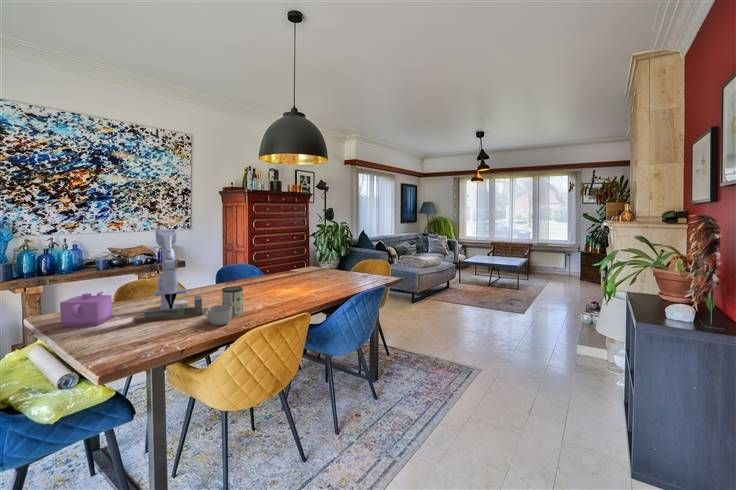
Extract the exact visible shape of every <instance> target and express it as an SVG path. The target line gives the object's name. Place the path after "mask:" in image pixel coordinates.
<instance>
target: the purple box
mask: <svg viewBox="0 0 736 490" xmlns="http://www.w3.org/2000/svg"><path fill="white" fill-rule="evenodd" d="M103 294H104V291H99V292H97V294H96V295H92V293H89V292H87V293H82V294H81V295H76V296H73V297H71V298H68V299H64V300H63V301H60V302H59V306H60V307H59V309H60V310H59V311H60V326H61V328H71V327H75V328H77V327H78V328H79V327H99V326H102V324H104V323H106V322H108V321H109V320H111V319H113V302H112V301H113V298H112V295H111V294H110V295H109V294H106V295H103Z"/></svg>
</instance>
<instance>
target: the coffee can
mask: <svg viewBox="0 0 736 490" xmlns="http://www.w3.org/2000/svg"><path fill="white" fill-rule="evenodd" d="M243 289H244V288H243V287H242V286H226V287H223V288H221V293H222V294H221V295H222V298H221V299H222V304H221V305H228V306H231V307H232V308H231V318H235V317H239V316H242V315H243V314H244V312H243V311H244V310H243V309H244V308H243V303H244V301H243Z"/></svg>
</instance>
